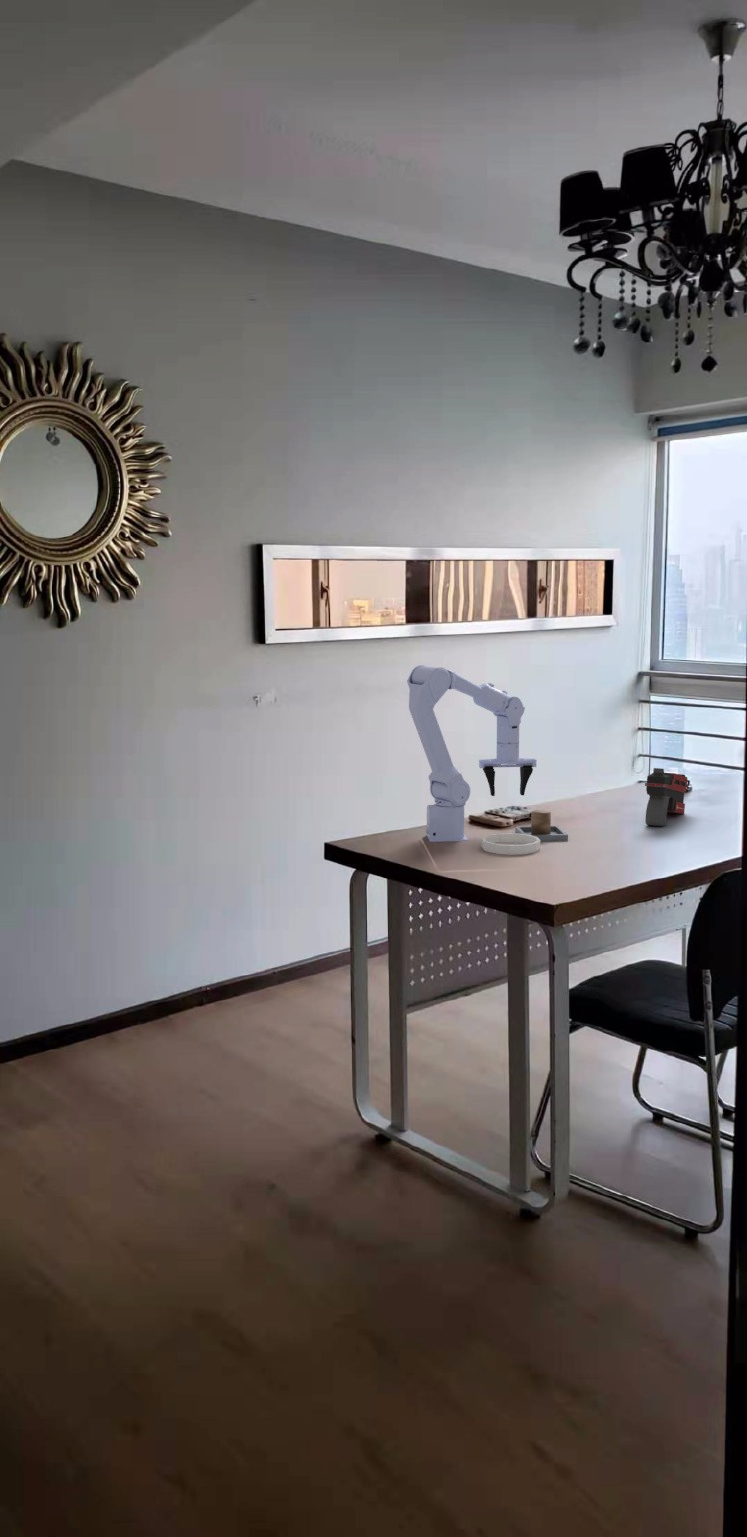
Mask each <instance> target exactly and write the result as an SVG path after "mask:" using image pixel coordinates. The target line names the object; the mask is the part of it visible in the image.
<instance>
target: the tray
mask: <svg viewBox="0 0 747 1537" xmlns="http://www.w3.org/2000/svg"><path fill="white" fill-rule="evenodd" d="M514 833H518V834H528V835H531V826H530V825H529V826H528V825H527V826H515V832H514ZM532 836H536V837H538V838H539V839H540V842H559V841H565V842H566V841H569V835H568V833H567V832H566V831H564V830H563V829H562V828H561V827H560V826H559V825H551V832H550V835H532Z"/></svg>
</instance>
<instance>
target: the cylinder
mask: <svg viewBox="0 0 747 1537" xmlns="http://www.w3.org/2000/svg"><path fill="white" fill-rule="evenodd" d="M551 814H552V811H551V810H547V809H546V810H545V809H543V810H542V809H537V810H532V811H531V815H530V817H531V818H530V819H531V822H530V823H531V824H530V825H531V835H550V832H551V826H552V825H551V824H552V823H551V821H552V819H551V818H552V815H551Z"/></svg>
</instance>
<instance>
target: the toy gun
mask: <svg viewBox="0 0 747 1537" xmlns="http://www.w3.org/2000/svg"><path fill="white" fill-rule="evenodd" d="M687 785H688V776H686V775H685V774H683V773H682V774H681V773H676V772H675V773H673V772H672V773H671V772H665V769H664V768H658V767H657V768H656V767H653V772H652V773H650V774H649V775H647V777H646V782H645V783H644V787H646V788H645V790H646V794H647V795H648V796H649V798H648V802H647V804H646V808H645V809H646V810H645V818H644V819H645V820H644V821H645V822H644V823H645V825H647V826H655V827H663V826H666V823H667V816H668V815H667V814H668V813H670V814H682V815H683V814H685V810H686V809H685V808H686V803H684V800H685V794H687V787H688V786H687Z"/></svg>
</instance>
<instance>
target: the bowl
mask: <svg viewBox="0 0 747 1537" xmlns="http://www.w3.org/2000/svg"><path fill="white" fill-rule="evenodd" d="M481 849H482V850H483V851H485V852H488V853H491V854H498V855H507V856H508V855H511V856H513V855H527V854H533V853H537V852H538V851H540V850H541V841H540V839H539V838H538V837H536V836H532V835H528V834H518V833H516V832H509V833H508V832H505V833H503V832H502V833H494V834H492V833H491V834H487V835H485V836H484V837H482V838H481Z"/></svg>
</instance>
